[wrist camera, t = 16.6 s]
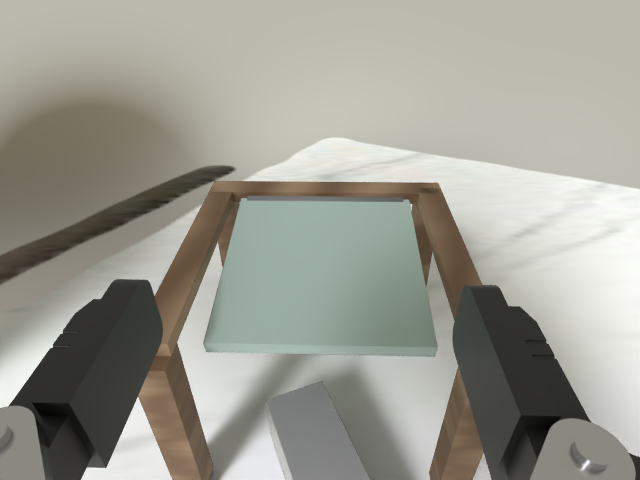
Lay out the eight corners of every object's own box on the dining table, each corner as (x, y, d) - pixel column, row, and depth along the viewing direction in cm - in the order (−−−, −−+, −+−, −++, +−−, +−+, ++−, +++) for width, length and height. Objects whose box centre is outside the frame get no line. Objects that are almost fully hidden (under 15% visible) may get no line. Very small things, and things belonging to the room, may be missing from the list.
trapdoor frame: (178, 493, 30) (122, 358, 22) (234, 300, 46) (214, 181, 38) (463, 502, 29) (517, 366, 21) (417, 303, 46) (437, 182, 37)
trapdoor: (206, 352, 26) (202, 342, 25) (244, 203, 37) (242, 192, 36) (434, 357, 26) (437, 346, 25) (406, 205, 36) (408, 194, 35)
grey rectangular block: (270, 434, 34) (322, 594, 25) (265, 400, 31) (322, 566, 23) (322, 414, 35) (388, 560, 27) (322, 380, 33) (394, 530, 24)
